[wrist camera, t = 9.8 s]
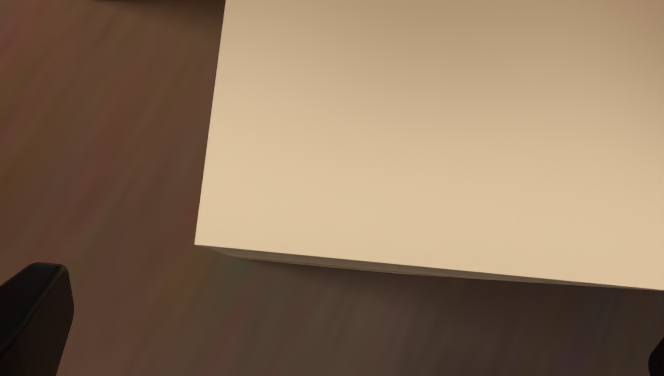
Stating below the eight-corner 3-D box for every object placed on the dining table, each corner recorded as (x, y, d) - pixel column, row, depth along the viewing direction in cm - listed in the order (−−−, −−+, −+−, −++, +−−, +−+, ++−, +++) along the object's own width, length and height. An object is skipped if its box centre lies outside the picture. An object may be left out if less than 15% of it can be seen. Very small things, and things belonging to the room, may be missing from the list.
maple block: (400, 273, 17) (694, 293, 6) (239, 258, 17) (195, 244, 5) (412, 118, 18) (693, -149, 6) (258, 99, 18) (255, -234, 6)
